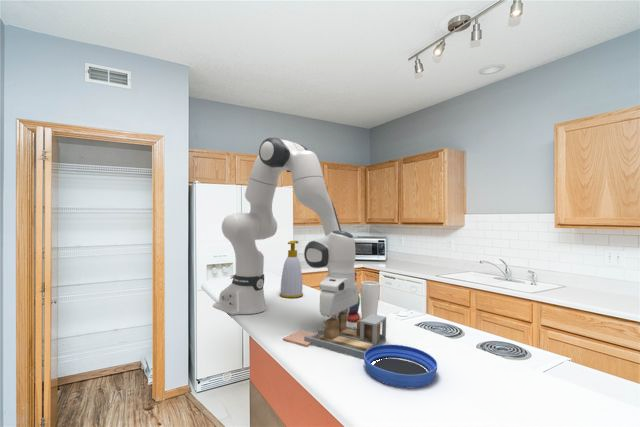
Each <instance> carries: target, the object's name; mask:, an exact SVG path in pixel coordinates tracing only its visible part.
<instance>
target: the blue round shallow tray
mask: <svg viewBox="0 0 640 427" xmlns="http://www.w3.org/2000/svg"><path fill="white" fill-rule="evenodd" d="M386 358H387V359H386ZM379 359H380V361H378V362H377V361H376V360H379ZM381 359H382V360H381ZM363 360H364V365H365V370H366V372H367V373H368V374H369V376H370V377H372V378H373V379H375V380H376V379H377V380H376V381H378V380H379V381H378V382H380V381H381V383H383V382H384V383H383V384H386V383H387V385H389V386H392V385H393V387H397V386H399V387H398V388H406V387H414V388H420V387H419V386H421V387H425V386H427V385H430V384H431V383H432V382H433V381H434V379H435V375H436V374H437V372H438V362H437V360H436V359H435V358H434V356H432V355H431V354H429V353H428V352H425V351H424V350H421V349H418V348H416V347H413V346H412V347H411V346H408V345H403V344H402V345H401V344H389V343H388V344H382V345H378V346H374V347H371V348H369V349H368V350H367V351H366V352H365V353H364V359H363ZM373 361H376V363H375V364H374V365H372V364H371V363H372V362H373ZM424 368H425V369H424ZM426 370H427V371H426ZM424 385H425V386H424Z"/></svg>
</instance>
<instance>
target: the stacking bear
mask: <svg viewBox="0 0 640 427" xmlns="http://www.w3.org/2000/svg"><path fill="white" fill-rule="evenodd" d="M357 279H358V278H357V272H356V271H355V280H356V281H357ZM360 306H361V296H360V292H359V291H358V303H357V304H356V305H354V306H351V307H350V309H349V313H348V316H347V323H348V322H349V323H353V322H354V323H357V321H358V320H359V319H361V316H360V314H359V309H360ZM341 312H343V311H341Z"/></svg>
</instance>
